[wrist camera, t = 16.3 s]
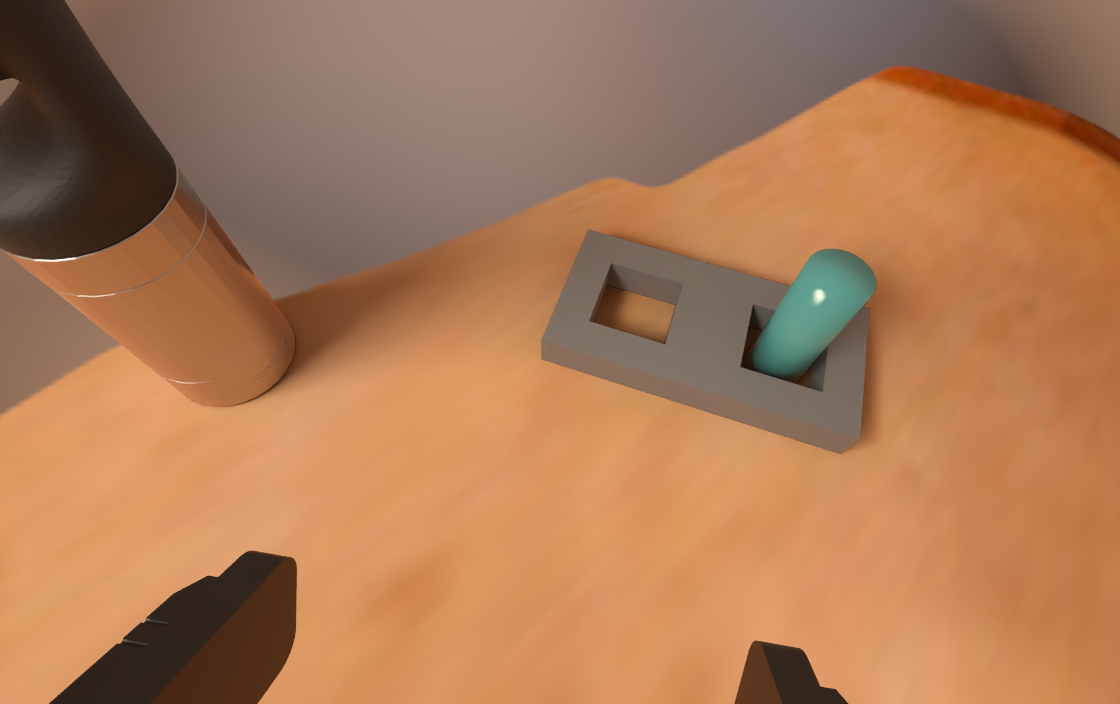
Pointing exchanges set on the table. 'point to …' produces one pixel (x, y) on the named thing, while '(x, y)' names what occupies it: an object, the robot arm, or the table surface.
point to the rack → (705, 343)
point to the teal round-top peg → (812, 314)
